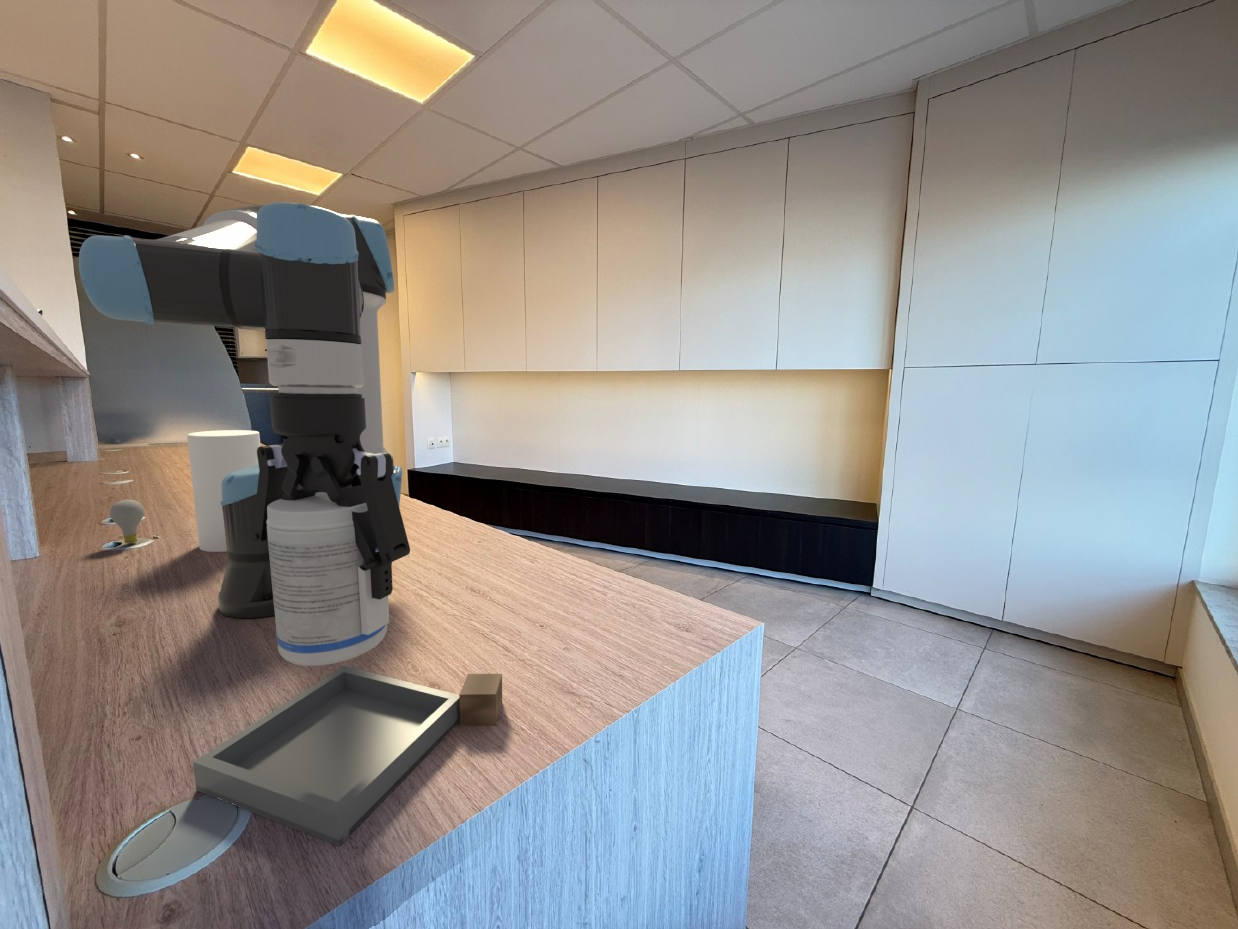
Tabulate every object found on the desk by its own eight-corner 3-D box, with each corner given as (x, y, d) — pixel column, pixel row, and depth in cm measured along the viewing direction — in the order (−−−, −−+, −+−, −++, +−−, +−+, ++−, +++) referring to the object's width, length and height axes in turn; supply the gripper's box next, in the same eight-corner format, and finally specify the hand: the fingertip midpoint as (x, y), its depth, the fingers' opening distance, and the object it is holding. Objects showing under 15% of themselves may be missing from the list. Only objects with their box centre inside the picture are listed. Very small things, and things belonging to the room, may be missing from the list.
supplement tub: (395, 653, 49) (388, 505, 47) (277, 682, 44) (263, 518, 42) (379, 613, 57) (372, 486, 55) (278, 635, 52) (266, 494, 49)
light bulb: (131, 548, 109) (125, 503, 108) (106, 547, 109) (100, 502, 108) (155, 540, 115) (149, 497, 113) (131, 539, 115) (125, 496, 113)
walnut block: (460, 727, 57) (459, 694, 56) (468, 704, 61) (467, 674, 60) (496, 726, 57) (495, 694, 57) (502, 704, 61) (501, 673, 60)
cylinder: (256, 550, 110) (245, 436, 106) (187, 553, 107) (174, 436, 103) (276, 533, 122) (267, 430, 118) (215, 536, 119) (204, 429, 115)
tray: (196, 790, 47) (192, 762, 47) (345, 688, 63) (344, 666, 63) (339, 846, 42) (337, 815, 42) (462, 719, 58) (461, 695, 58)
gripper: (189, 387, 46) (214, 616, 50) (386, 395, 40) (398, 659, 43) (268, 387, 53) (284, 588, 57) (447, 394, 47) (453, 621, 50)
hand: (333, 618), depth 50 cm, fingers closed on supplement tub, 10 cm apart
